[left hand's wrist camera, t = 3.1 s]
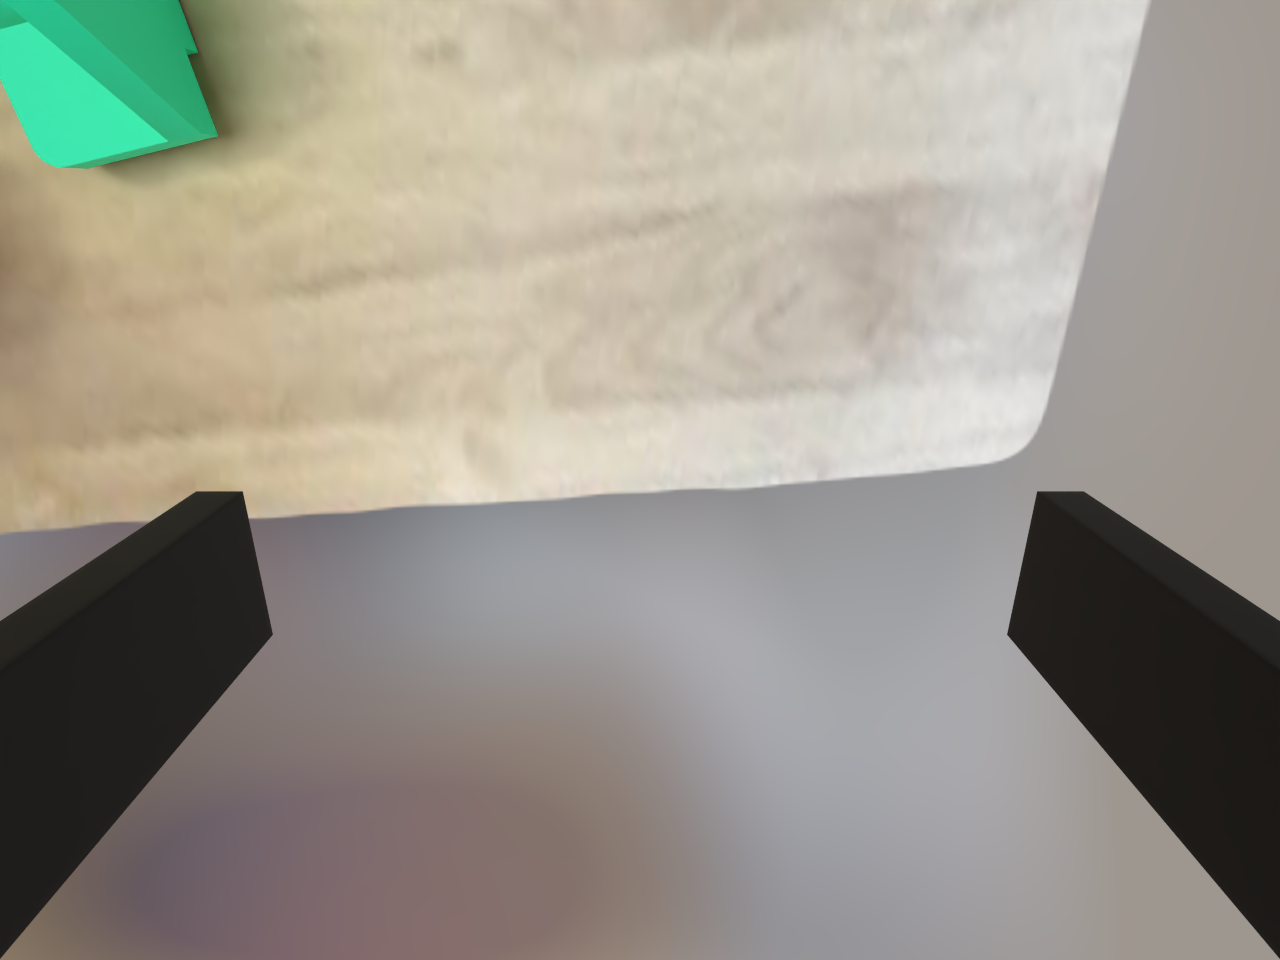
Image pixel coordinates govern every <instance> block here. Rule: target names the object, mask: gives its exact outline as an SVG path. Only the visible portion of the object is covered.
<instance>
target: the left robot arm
mask: <svg viewBox="0 0 1280 960" xmlns="http://www.w3.org/2000/svg"><path fill="white" fill-rule="evenodd" d="M272 635H273V633H272V629H271V624H270V619H269V614H268V610H267V605H266V600H265V595H264V591H263V586H262V581H261V576H260V571H259V567H258V562H257V557H256V552H255V548H254V543H253V538H252V533H251V529H250V524H249V519H248V514H247V510H246V505H245V500H244V495H243V492H195V493H193V494H192V495H190V496H189V497H187V498H186V499H184V500H183V501H181V502H180V503H178V504H177V505H175V506H174V507H172V508H171V509H169V510H168V511H166V512H165V513H163V514H162V515H160V516H159V517H157V518H156V519H154V520H152V521H151V522H149V523H148V524H146V525H145V526H143V527H142V528H140V529H139V530H137V531H136V532H134V533H133V534H131V535H130V536H128V537H127V538H125V539H124V540H122V541H121V542H119V543H118V544H116V545H115V546H113V547H112V548H110V549H109V550H107V551H106V552H104V553H103V554H101V555H100V556H98V557H97V558H95V559H94V560H92V561H91V562H89V563H87V564H86V565H85V566H83V567H81V568H80V569H79V570H77V571H75V572H74V573H72V574H71V575H69V576H68V577H66V578H65V579H63V580H62V581H60V582H59V583H57V584H56V585H54V586H53V587H51V588H50V589H48V590H47V591H45V592H44V593H42V594H41V595H39V596H38V597H36V598H35V599H33V600H32V601H30V602H29V603H27V604H26V605H24V606H23V607H21V608H19V609H18V610H16V611H15V612H13V613H12V614H10V615H9V616H7V617H6V618H4V619H3V620H1V621H0V958H1V957H2V956H3V955H4V954H5V952H6V951H7V950H8V949H9V948H10V946H11V945H12V944H13V943H14V942H15V940H16V939H17V938H18V937H19V936H20V935H21V933H22V932H23V931H24V930H25V929H26V927H27V926H28V925H29V924H30V923H31V921H32V920H33V919H34V918H35V917H36V915H37V914H38V913H39V912H40V911H41V910H42V908H43V907H44V906H45V905H46V904H47V902H48V901H49V900H50V899H51V898H52V896H53V895H54V894H55V893H56V892H57V890H58V889H59V888H60V887H61V886H62V885H63V883H64V882H65V881H66V880H67V879H68V877H69V876H70V875H71V874H72V873H73V872H74V870H75V869H76V868H77V867H78V866H79V864H80V863H81V862H82V861H83V860H84V858H85V857H86V856H87V855H88V854H89V852H90V851H91V850H92V849H93V848H94V847H95V845H96V844H97V843H98V842H99V841H100V839H101V838H102V837H103V836H104V835H105V833H106V832H107V831H108V830H109V829H110V828H111V826H112V825H113V824H114V823H115V822H116V820H117V819H118V818H119V817H120V816H121V814H122V813H123V812H124V811H125V810H126V808H127V807H128V806H129V805H130V804H131V802H132V801H133V800H134V799H135V798H136V797H137V795H138V794H139V793H140V792H141V791H142V789H143V788H144V787H145V786H146V785H147V783H148V782H149V781H150V780H151V779H152V778H153V776H154V775H155V774H156V773H157V772H158V770H159V769H160V768H161V767H162V766H163V765H164V763H165V762H166V761H167V760H168V759H169V757H170V756H171V755H172V754H173V753H174V751H175V750H176V749H177V748H178V747H179V745H180V744H181V743H182V742H183V741H184V740H185V738H186V737H187V736H188V735H189V734H190V732H191V731H192V730H193V729H194V728H195V726H196V725H197V724H198V723H199V722H200V721H201V719H202V718H203V717H204V716H205V715H206V713H207V712H208V711H209V710H210V709H211V707H212V706H213V705H214V704H215V703H216V701H217V700H218V699H219V698H220V697H221V696H222V694H223V693H224V692H225V691H226V690H227V688H228V687H229V686H230V685H231V684H232V682H233V681H234V680H235V679H236V678H237V677H238V675H239V674H240V673H241V672H242V671H243V669H244V668H245V667H246V666H247V665H248V663H249V662H250V661H251V660H252V659H253V658H254V656H255V655H256V654H257V653H258V652H259V650H260V649H261V648H262V647H263V646H264V644H265V643H266V642H267V641H268V640H269V638H270V637H271V636H272ZM1007 635H1008V636H1009V637H1010V639H1011V640H1012V641H1013V642H1014V643H1015V644H1016V646H1017V647H1018V648H1019V649H1020V650H1021V652H1022V653H1023V654H1024V655H1025V656H1026V658H1027V659H1028V660H1029V661H1030V662H1031V663H1032V665H1033V666H1034V667H1035V668H1036V669H1037V671H1038V672H1039V673H1040V674H1041V675H1042V677H1043V678H1044V679H1045V680H1046V681H1047V682H1048V684H1049V685H1050V686H1051V687H1052V688H1053V690H1054V691H1055V692H1056V693H1057V694H1058V695H1059V697H1060V698H1061V699H1062V700H1063V701H1064V703H1065V704H1066V705H1067V706H1068V707H1069V709H1070V710H1071V711H1072V712H1073V713H1074V715H1075V716H1076V717H1077V718H1078V719H1079V721H1080V722H1081V723H1082V724H1083V725H1084V726H1085V728H1086V729H1087V730H1088V731H1089V732H1090V734H1091V735H1092V736H1093V737H1094V738H1095V740H1096V741H1097V742H1098V743H1099V744H1100V745H1101V747H1102V748H1103V749H1104V750H1105V751H1106V753H1107V754H1108V755H1109V756H1110V757H1111V759H1112V760H1113V761H1114V762H1115V763H1116V765H1117V766H1118V767H1119V768H1120V769H1121V770H1122V772H1123V773H1124V774H1125V775H1126V776H1127V778H1128V779H1129V780H1130V781H1131V782H1132V784H1133V785H1134V786H1135V787H1136V788H1137V789H1138V791H1139V792H1140V793H1141V794H1142V795H1143V797H1144V798H1145V799H1146V800H1147V801H1148V803H1149V804H1150V805H1151V806H1152V807H1153V809H1154V810H1155V811H1156V812H1157V813H1158V814H1159V816H1160V817H1161V818H1162V819H1163V820H1164V822H1165V823H1166V824H1167V825H1168V826H1169V827H1170V829H1171V830H1172V831H1173V832H1174V833H1175V835H1176V836H1177V837H1178V838H1179V839H1180V841H1181V842H1182V843H1183V844H1184V845H1185V847H1186V848H1187V849H1188V850H1189V851H1190V852H1191V854H1192V855H1193V856H1194V857H1195V858H1196V860H1197V861H1198V862H1199V863H1200V864H1201V866H1202V867H1203V868H1204V869H1205V870H1206V871H1207V873H1208V874H1209V875H1210V876H1211V877H1212V879H1213V880H1214V881H1215V882H1216V883H1217V885H1218V886H1219V887H1220V888H1221V889H1222V891H1223V892H1224V893H1225V894H1226V895H1227V896H1228V898H1229V899H1230V900H1231V901H1232V902H1233V904H1234V905H1235V906H1236V907H1237V908H1238V910H1239V911H1240V912H1241V913H1242V914H1243V916H1244V917H1245V918H1246V919H1247V920H1248V921H1249V923H1250V924H1251V925H1252V926H1253V927H1254V929H1255V930H1256V931H1257V932H1258V933H1259V934H1260V936H1261V937H1262V938H1263V939H1264V940H1265V942H1266V943H1267V944H1268V945H1269V946H1270V948H1271V949H1272V950H1273V951H1274V952H1275V954H1276V955H1277V956H1278V957H1279V958H1280V621H1279V620H1277V619H1276V618H1274V617H1273V616H1271V615H1270V614H1268V613H1267V612H1265V611H1264V610H1262V609H1261V608H1259V607H1257V606H1256V605H1254V604H1253V603H1251V602H1250V601H1248V600H1247V599H1245V598H1244V597H1242V596H1241V595H1239V594H1238V593H1236V592H1235V591H1233V590H1232V589H1230V588H1229V587H1227V586H1226V585H1224V584H1223V583H1221V582H1220V581H1218V580H1217V579H1215V578H1214V577H1212V576H1211V575H1209V574H1208V573H1206V572H1205V571H1203V570H1202V569H1200V568H1199V567H1197V566H1195V565H1194V564H1193V563H1191V562H1189V561H1188V560H1186V559H1185V558H1183V557H1182V556H1180V555H1179V554H1177V553H1176V552H1174V551H1173V550H1171V549H1170V548H1168V547H1167V546H1165V545H1164V544H1162V543H1161V542H1159V541H1158V540H1156V539H1155V538H1153V537H1152V536H1150V535H1149V534H1147V533H1146V532H1144V531H1143V530H1141V529H1140V528H1138V527H1137V526H1135V525H1133V524H1132V523H1131V522H1129V521H1128V520H1126V519H1124V518H1123V517H1121V516H1120V515H1118V514H1117V513H1115V512H1114V511H1112V510H1111V509H1109V508H1108V507H1106V506H1105V505H1103V504H1102V503H1100V502H1099V501H1097V500H1096V499H1094V498H1093V497H1091V496H1090V495H1088V494H1087V493H1085V492H1037V495H1036V500H1035V505H1034V510H1033V514H1032V519H1031V524H1030V529H1029V533H1028V538H1027V543H1026V548H1025V553H1024V557H1023V562H1022V567H1021V572H1020V576H1019V581H1018V586H1017V591H1016V595H1015V600H1014V605H1013V610H1012V614H1011V619H1010V624H1009V629H1008V633H1007Z"/></svg>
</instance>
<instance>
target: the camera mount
mask: <svg viewBox="0 0 1280 960" xmlns="http://www.w3.org/2000/svg"><path fill="white" fill-rule="evenodd" d="M194 53H198V51H197V48H196V45H195V43H194V40H193V37H192V35H191V32H190V30H189V27H188V24H187V22H186V19H185V16H184V14H183V11H182V8H181V6H180V3H179V0H0V80H1V82H2V84H3V86H4V88H5V90H6V92H7V95H8V97H9V99H10V101H11V103H12V105H13V107H14V110H15V112H16V114H17V116H18V118H19V120H20V122H21V124H22V127H23V129H24V131H25V133H26V135H27V137H28V139H29V142H30V144H31V146H32V148H33V150H34V151H35V153H36V154H37V155H38V156H39V157H40V158H41V159H42V160H43V161H44V162H46V163H47V164H49V165H52V166H55V167H64V168H83V169H87V168H92V167H96V166H100V165H104V164H108V163H112V162H116V161H120V160H124V159H128V158H132V157H136V156H140V155H144V154H148V153H152V152H156V151H160V150H164V149H168V148H172V147H177V146H181V145H185V144H189V143H193V142H197V141H201V140H205V139H209V138H213V137H217V136H218V134H217V132H216V129H215V126H214V124H213V121H212V119H211V116H210V113H209V111H208V108H207V105H206V103H205V100H204V98H203V95H202V92H201V90H200V87H199V85H198V82H197V79H196V77H195V74H194V71H193V69H192V66H191V64H190V61H189V58H188V56H187V55H190V54H194Z"/></svg>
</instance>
